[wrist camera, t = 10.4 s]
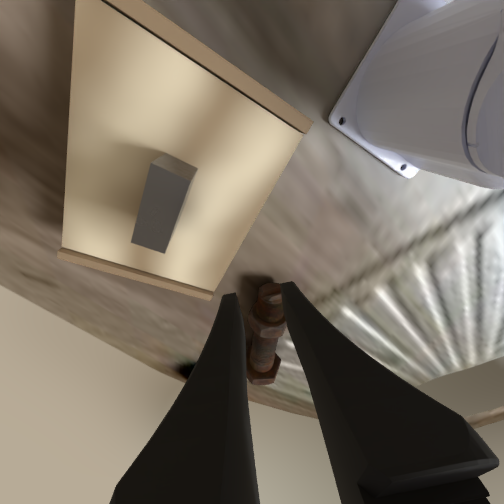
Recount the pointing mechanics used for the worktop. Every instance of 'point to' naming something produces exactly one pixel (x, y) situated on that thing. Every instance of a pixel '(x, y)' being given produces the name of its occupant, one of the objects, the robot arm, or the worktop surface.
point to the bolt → (265, 335)
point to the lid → (161, 154)
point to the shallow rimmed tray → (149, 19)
